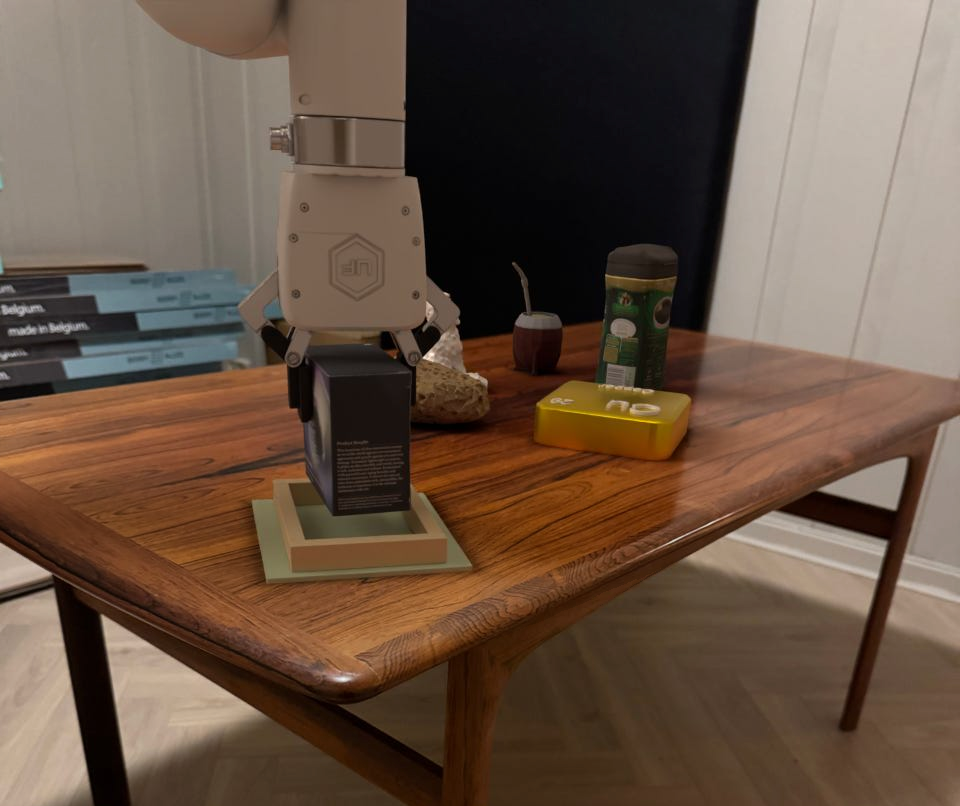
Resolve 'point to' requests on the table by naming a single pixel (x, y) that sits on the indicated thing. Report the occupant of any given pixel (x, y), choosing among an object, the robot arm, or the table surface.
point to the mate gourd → (536, 338)
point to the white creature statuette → (449, 348)
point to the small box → (358, 429)
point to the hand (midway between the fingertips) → (352, 415)
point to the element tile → (612, 420)
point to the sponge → (447, 395)
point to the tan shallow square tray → (349, 539)
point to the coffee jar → (637, 316)
